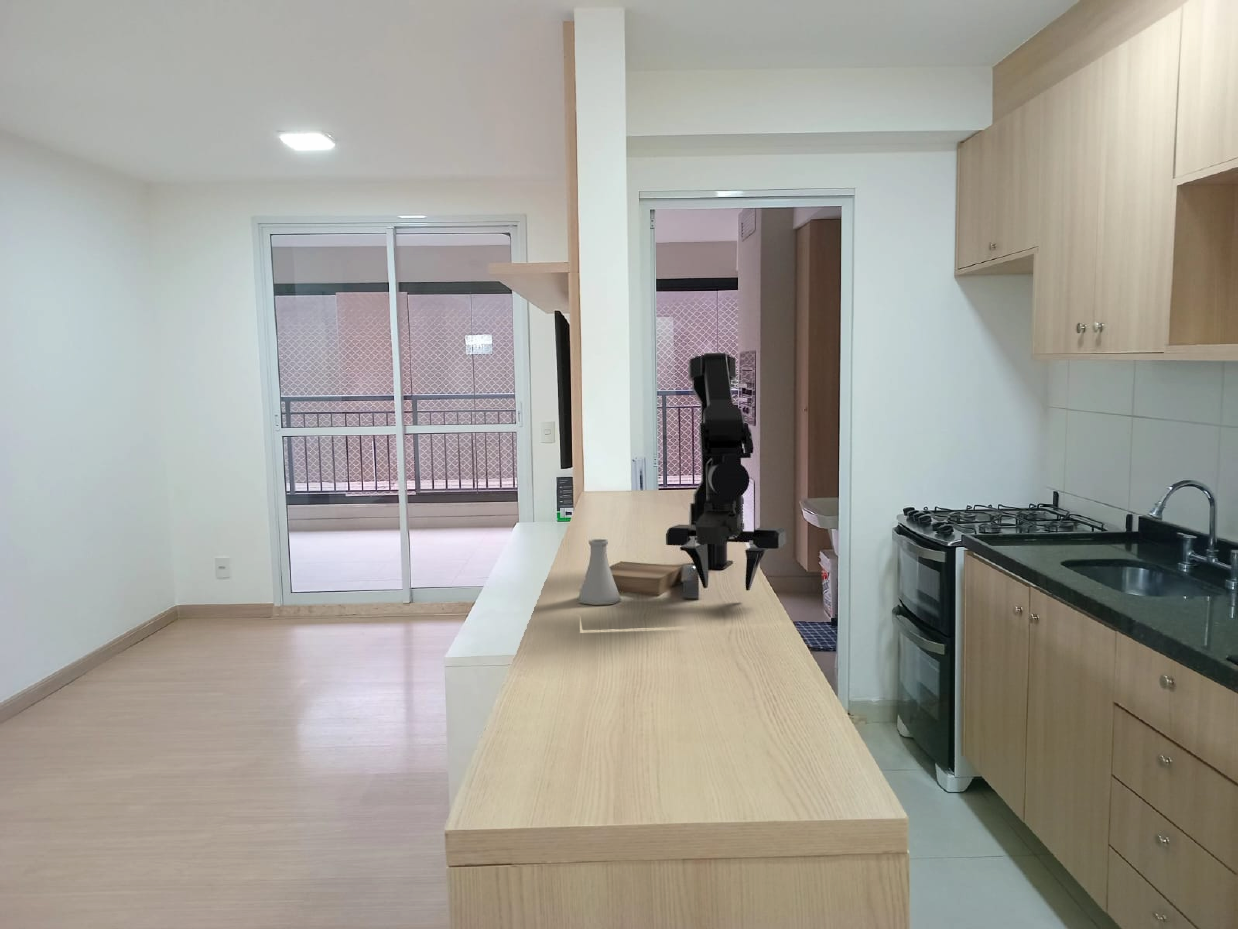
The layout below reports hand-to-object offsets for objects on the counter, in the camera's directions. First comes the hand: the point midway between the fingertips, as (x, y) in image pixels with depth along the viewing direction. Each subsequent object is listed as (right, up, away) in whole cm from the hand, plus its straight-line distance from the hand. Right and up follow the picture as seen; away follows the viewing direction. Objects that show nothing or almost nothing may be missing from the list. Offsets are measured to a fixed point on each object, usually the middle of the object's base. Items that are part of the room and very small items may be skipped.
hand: (726, 589), depth 139 cm
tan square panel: (-14, -1, +10) cm, 17 cm away
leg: (-5, -1, +7) cm, 8 cm away
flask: (-21, -2, +1) cm, 21 cm away
